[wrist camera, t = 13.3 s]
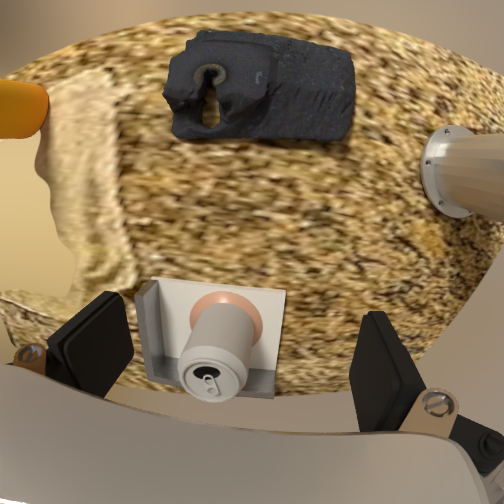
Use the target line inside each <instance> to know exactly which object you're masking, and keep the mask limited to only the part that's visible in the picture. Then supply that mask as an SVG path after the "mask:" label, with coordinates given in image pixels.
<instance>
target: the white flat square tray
mask: <svg viewBox="0 0 504 504" xmlns="http://www.w3.org/2000/svg"><path fill="white" fill-rule="evenodd" d="M151 279H152V280H158V285H159V299H160V311H161V322H162V332H163V341H164V349H165V356H168V357H174V358H180V355H181V353H182V351H183V349H184V347H185V345H186V343H187V341H188V339H189V336H190V334H191V332H192V330H193V328H194V326H195V324H196V322H197V320H198V318H199V316H200V314H201V313H202V311H203V310H204V309H205V308H207V307H208V306H210V305H213V304H216V303H229V304H233V305H236V306H238V307H240V308H241V309H243V310H244V311H245V312H246V313H247V314H248V315H249V316H250V318H251V320H252V322H253V328H254V333H253V340H252V348H251V355H250V362H249V368H255V369H266V370H275V369H276V362H277V355H278V348H279V341H280V334H281V326H282V319H283V311H284V303H285V295H286V290H279V289H268V288H256V287H245V286H235V285H224V284H215V283H205V282H196V281H187V280H178V279H169V278H161V277H152V278H151Z"/></svg>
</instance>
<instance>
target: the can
mask: <svg viewBox="0 0 504 504" xmlns="http://www.w3.org/2000/svg"><path fill="white" fill-rule="evenodd" d="M253 333H254V328H253V322H252V320H251V318H250V316H249V315H248V314H247V313H246V312H245V311H244V310H243V309H241V308H240V307H238V306H236V305H233V304H229V303H216V304H213V305H210V306H208V307H207V308H205V309H204V310H203V311H202V313H201V314H200V316H199V318H198V320H197V322H196V324H195V326H194V328H193V330H192V332H191V334H190V336H189V339H188V341H187V343H186V345H185V347H184V349H183V351H182V353H181V355H180V358H179V360H178V367H177V369H178V372H179V375H180V376H179V378H180V382H181V384H182V386H183V387H184V389H185V390H186V391H187V392H188V393H189V394H191V395H192V396H194V397H196V398H198V399H199V400H203V401H206V402H212V403H220V402H225V401H228V400H230V399H232V398H234V397H235V395H236V394H237V393H238V392H240V391H241V389H242V388H243V387H244V386H245V384H246V381H247V377H248V370H249V362H250V355H251V348H252V340H253Z"/></svg>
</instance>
